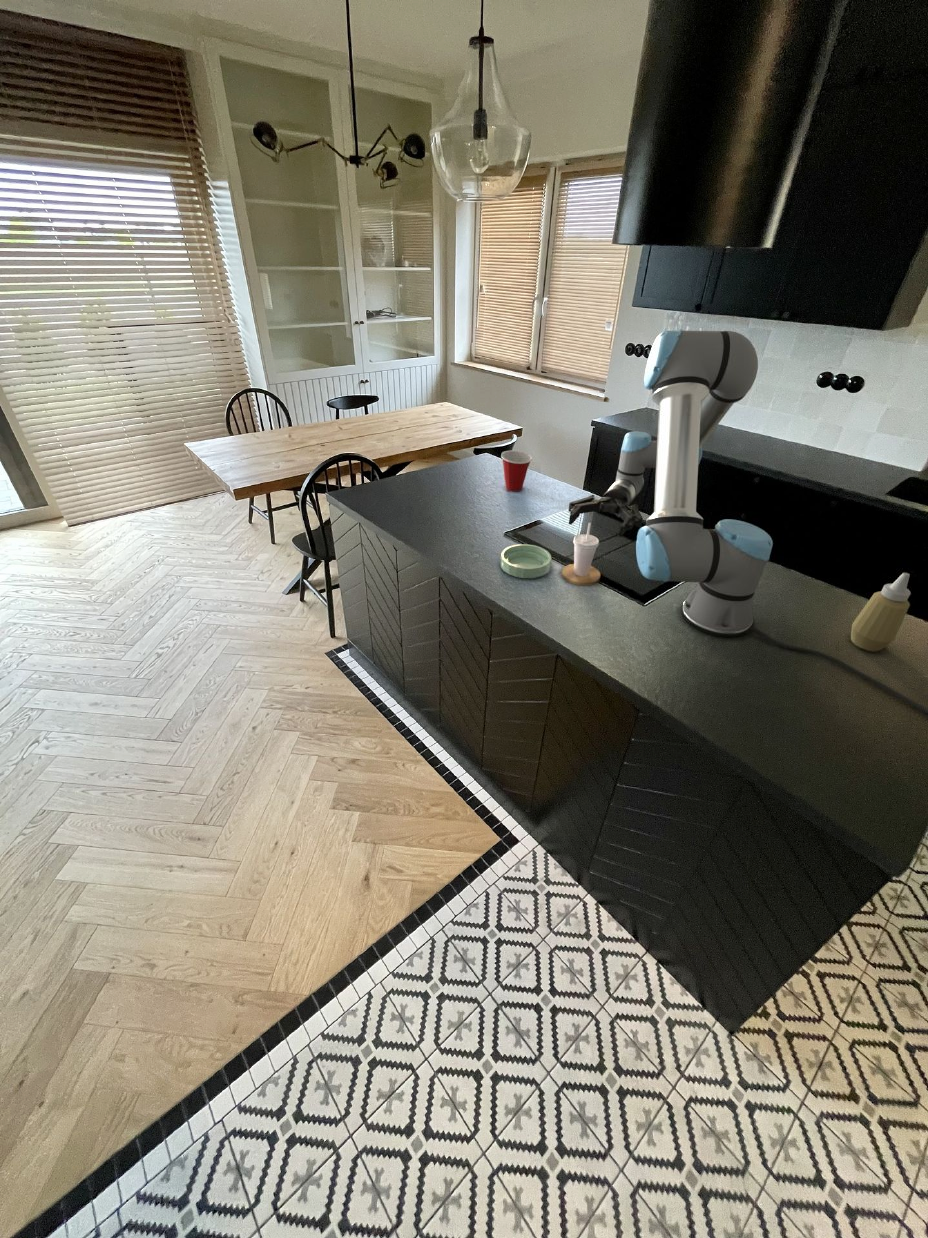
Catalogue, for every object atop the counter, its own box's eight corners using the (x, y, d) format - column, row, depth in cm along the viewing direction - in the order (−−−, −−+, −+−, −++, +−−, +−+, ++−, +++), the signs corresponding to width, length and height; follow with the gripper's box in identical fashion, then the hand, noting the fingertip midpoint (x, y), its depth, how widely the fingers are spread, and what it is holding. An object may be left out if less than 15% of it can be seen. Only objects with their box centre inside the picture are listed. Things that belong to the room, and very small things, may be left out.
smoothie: (597, 570, 141) (605, 522, 132) (588, 581, 136) (596, 532, 128) (574, 564, 143) (581, 516, 135) (564, 574, 139) (571, 525, 131)
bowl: (560, 569, 143) (561, 559, 141) (522, 584, 136) (523, 573, 134) (527, 549, 151) (528, 539, 149) (490, 563, 145) (491, 552, 143)
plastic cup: (519, 497, 182) (521, 462, 175) (493, 489, 187) (494, 455, 180) (535, 487, 189) (538, 454, 182) (510, 480, 195) (512, 447, 187)
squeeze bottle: (887, 660, 113) (932, 588, 102) (844, 647, 116) (883, 577, 106) (887, 640, 119) (929, 571, 108) (845, 628, 122) (882, 560, 111)
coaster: (608, 577, 139) (608, 575, 139) (581, 589, 134) (581, 586, 134) (580, 562, 146) (580, 559, 145) (553, 572, 141) (554, 570, 141)
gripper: (659, 518, 150) (640, 549, 135) (575, 500, 160) (549, 527, 145) (665, 493, 146) (646, 522, 131) (578, 476, 156) (552, 502, 141)
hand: (595, 525), depth 138 cm, fingers open, 13 cm apart
